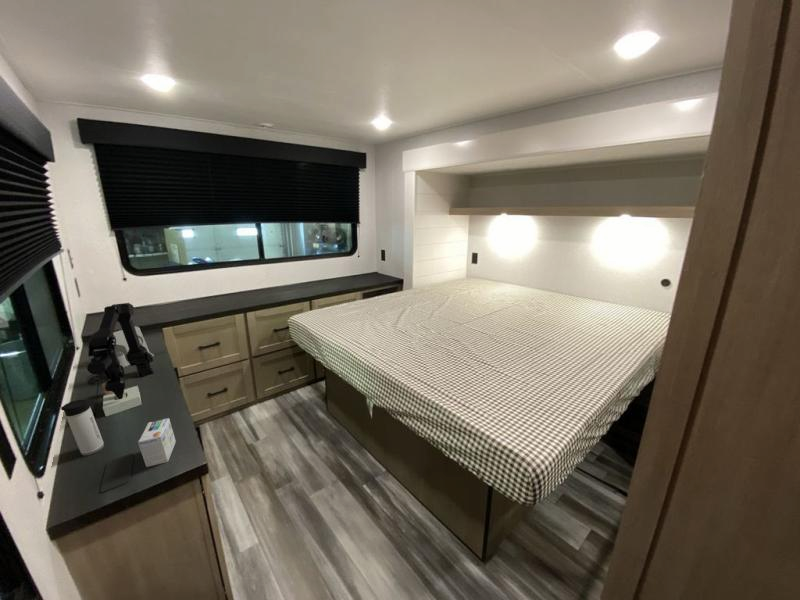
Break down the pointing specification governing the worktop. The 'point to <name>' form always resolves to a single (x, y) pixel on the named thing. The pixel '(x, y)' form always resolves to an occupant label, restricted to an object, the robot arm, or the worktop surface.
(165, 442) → the light bulb box
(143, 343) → the phone holder
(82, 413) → the travel mug
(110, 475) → the phone
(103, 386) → the short dowel
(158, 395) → the worktop surface
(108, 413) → the hole block
